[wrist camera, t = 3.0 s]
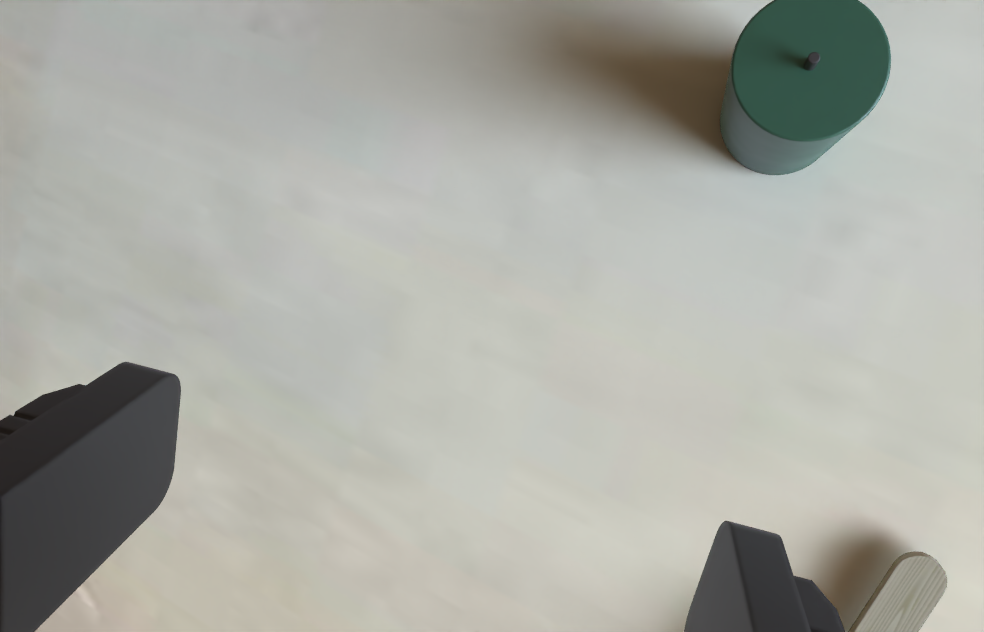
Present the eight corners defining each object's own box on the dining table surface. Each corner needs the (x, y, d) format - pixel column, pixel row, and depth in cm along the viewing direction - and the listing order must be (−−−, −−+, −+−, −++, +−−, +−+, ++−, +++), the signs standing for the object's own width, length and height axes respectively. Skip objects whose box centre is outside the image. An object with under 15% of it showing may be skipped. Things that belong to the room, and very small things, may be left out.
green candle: (703, 155, 30) (709, 109, 22) (744, 48, 30) (766, -41, 21) (812, 190, 30) (862, 157, 21) (855, 81, 29) (924, 2, 21)
